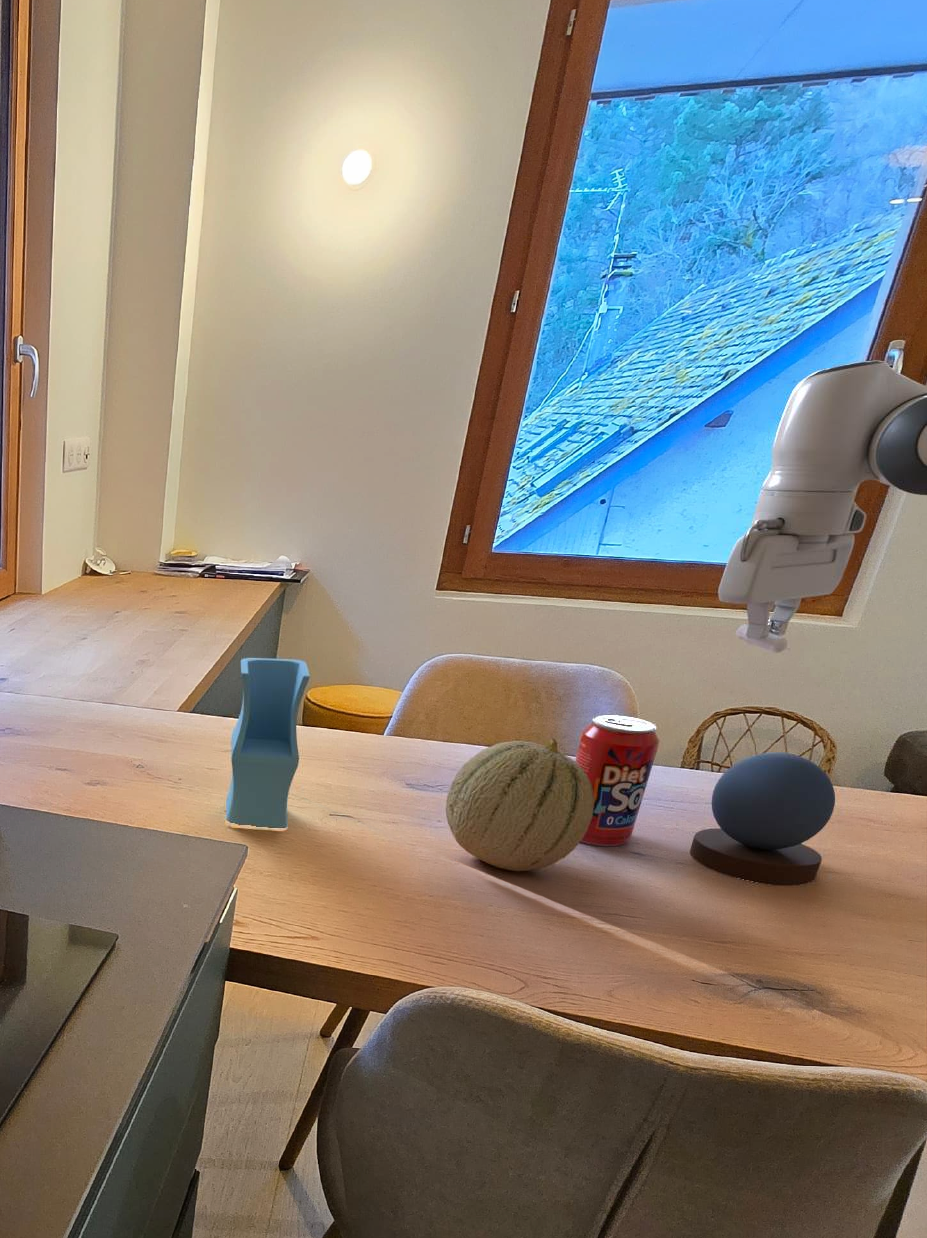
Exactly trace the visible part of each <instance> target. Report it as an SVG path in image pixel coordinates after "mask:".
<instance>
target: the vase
mask: <svg viewBox="0 0 927 1238" xmlns="http://www.w3.org/2000/svg"><path fill="white" fill-rule="evenodd" d="M240 675H241V683H242V703H241V707H240V709H241V710H240V712H239V716H238V719H237V721H236V723H235V726H234V728H233V731H232V732H231V738H230V748H231V749H230V750H231V751H230V752H231V753H230V754H231V755H230V759H231V779H230V785H229V789H228V793H227V796H226V798H225V801H226V820H227V821H229V822H230V823H235V824H238V825H251V826H256V827H268V828H286V827H287V826H288V827H289V825H288V824H289V823H288V799H289V793H290V789H291V785H292V782H293V779H294V777H295V774H296V772H297V769H298V767H299V761H300V753H299V746H298V737H297V725H298V724H297V722H298V715H299V710H300V709H299V708H300V706H301V702H302V698H303V695H304V693H305V690H306V689H307V686H308V683H309V680H310V678H311V675H310V673H309V668H308V665H307V663H306V661H304V660H300V659H290V658H267V657H244V658H242V659H240Z"/></svg>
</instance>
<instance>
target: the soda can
mask: <svg viewBox="0 0 927 1238" xmlns="http://www.w3.org/2000/svg"><path fill="white" fill-rule="evenodd" d="M656 730H657V725H656V724H655V723H653V722H651V721H649V720H647V719H644V718H639V717H636V716H630V715H621V714H600V715H596V716H594V717H592V722H591V723H590V724H589V725H587V726H586V727H585V728H584V729H583V731H582V733H581V737H580V740H579V744H578V748H577V751H576V755H575V759H574V761H575V762H576V763H577V764H578V765H579V766H580V767H581V768H582V769H583V771H584V772H585V773H586V775H587V777H588V779H589V781H590V783H591V786H592V790H593V795H594V809H593V816H592V819H591V822H590V824H589V826H588V830H587V831H586V833H585V834H584V836H583V839H582V840H581V841H580V842H579V843H582V844H586V845H591V846H597V847H617V846H621V845H624V844H626V843H628V842H629V841H630V840H631V837H632V834H633V831H634V828H635V826H636V822H637V819H638V815H639V812H640V808H641V806H642V802H643V798H644V795H645V791H646V789H647V786H648V781H649V778H650V776H651V772H652V768H653V765H654V761H655V759H656V755H657V751H658V748H659V745H660V740H659V737H658V734H657V732H656Z"/></svg>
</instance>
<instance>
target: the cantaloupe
mask: <svg viewBox="0 0 927 1238" xmlns="http://www.w3.org/2000/svg"><path fill="white" fill-rule="evenodd" d="M445 802H446V804H445V815H446V822H447V824H448V826H449V829H450V831H451V833H452V836H453V838H454V839H455V841H456V843H457V844H458V846H460V847H461V848H462V849H463V850H465V851H466V852H467V853H469V854H470V855H472V856H473V857H475V858H476V859H478V860H480V861H482V862H484V863H485V864H488V865H490V866H493V867H496V868H498V869H502V870H506V871H509V872H526V871H532V870H537V869H543V868H545V867H549V866H551V865H554V864H555V863H556V864H557V862H559V861H561V860H563V859H565V858H566V857H567V856H568V855H570V854H571V853H572V852H573V851H574V850H575V848H576V847H577V846H578V845H579V844H580V843H581V842H580V841H581V840H582V839H583V836H584V834H585V833H586V831H587V830H588V826H589V824H590V822H591V819H592V816H593V809H594V795H593V790H592V786H591V783H590V781H589V779H588V777H587V775H586V773H585V772H584V771H583V769H582V768H581V767H580V766H579V765H578V764H577V763H576V762H575V759H573V758H571V757H569V756H568V755H565V754H564V753H563V752H561V751H559V750H558V742H557V740H556V738H554V737H550V739H549V741H548V744H547V745H543V744H539V743H535V742H532V741H525V740H513V741H505V742H499V743H496V744H494V745H491V746H487V747H486V748H484V749H482V750H481V751H479V752H478V753H476V754H475V755H474V756H473V757H470V758H469V759H468V760H467V762H465V763H464V765H462V766H461V768H460V769H459V771H458V772H457V773H456V775H455V776H454V778H453V780H452V782H451V784H450V787H449V789H448V792H447V796H446V801H445Z"/></svg>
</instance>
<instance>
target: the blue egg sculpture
mask: <svg viewBox="0 0 927 1238" xmlns="http://www.w3.org/2000/svg"><path fill="white" fill-rule="evenodd" d="M835 792H836V791H835V789H834V785H833V783H832V781H831V778H830V776H829V775H828V774H827V773H826V771H824V769H823V768H822V767H820V766H819V765H817V764H816V763H815V762H813V761H811V760H810V759H807V758H806V757H803V756H801V755H797V754H794V753H789V752H777V751H775V752H773V751H772V752H764V753H758V754H755V755H751V756H748V757H746V758H744V759H741V760H740V761H737V762H736V763H734V764H733V765H732V766H730V767H729V768H728V769H727V770H726V771H725V772H723V774H722V775H721V776H720V778H719V779H718V781H717V782H716V784H715V786H714V788H713V791H712V795H711V811H712V815H713V817H714V820H715V822H716V823H717V825H718V827H719V828H718V827H717V828H708V829H707V828H706V829H701V830H699V831H697V832H696V833H695V834H694V836H693V838H692V843H691V845H690V849H689V854H690V856H691V857H692V858H693V860H695V861H696V862H697V863H698V864H700V865H702V866H704V867H705V868H707V869H709V870H711V871H714V872H717V873H719V874H722V875H724V876H728V877H730V878H734V877H735V878H734V879H737V878H740V879H739V880H741V879H744V880H743V881H745V880H749V881H748V882H750V881H753V882H752V883H755V882H758V883H757V884H761V883H763V884H762V885H768V884H770V885H771V886H782V887H783V886H785V887H791V886H792V887H794V885H795V886H802V885H801V884H803V885H807V884H809V883H808V882H810V883H812V882H813V881H814V880H815V879H816V877H817V874H818V872H819V869H820V866H821V863H822V860H823V858H822V855H821V854H820V853H819V852H818V851H816V850H815V849H813V848H812V847H810V846H807V845H805V844H803V843H805V842H807V841H809V840H810V839H812V838H813V837H815V836H816V835H817V834H818V833H820V832H821V831H822V830H823V829H824V828H825V827H826V825H827V824H828V822H829V820H830V819H831V817H832V815H833V813H834V809H835V805H836V793H835ZM812 880H813V881H812ZM811 881H812V882H811ZM806 883H807V884H806ZM770 885H769V886H770Z"/></svg>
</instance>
